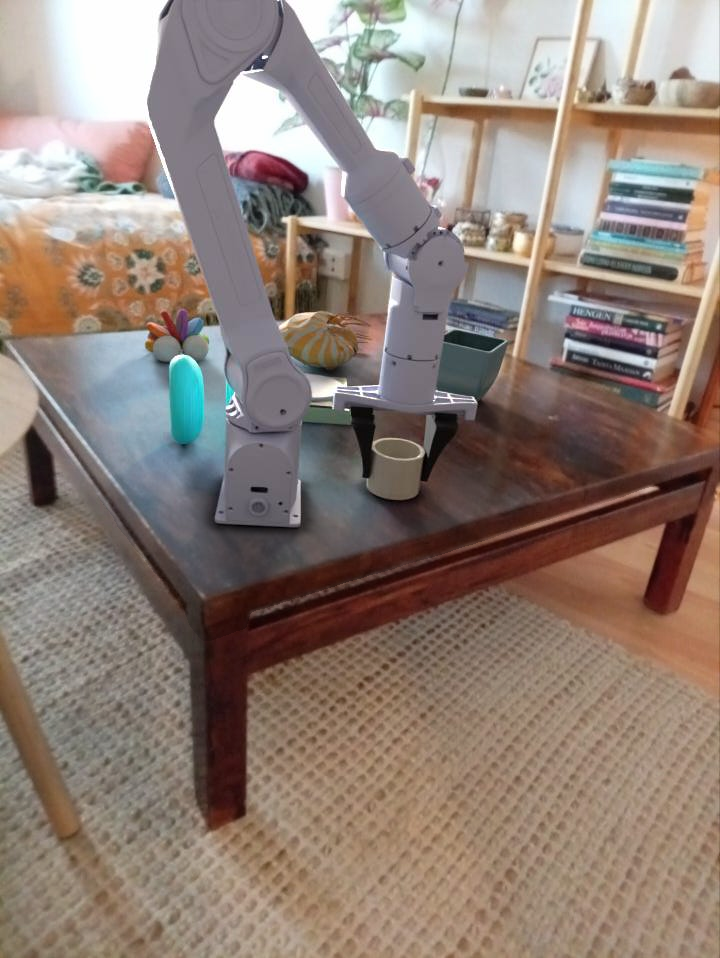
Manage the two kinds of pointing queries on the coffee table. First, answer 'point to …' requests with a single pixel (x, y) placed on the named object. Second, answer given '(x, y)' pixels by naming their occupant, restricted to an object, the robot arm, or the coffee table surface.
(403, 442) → the white cup
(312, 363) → the nautilus
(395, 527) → the coffee table surface
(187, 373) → the teal upright capsule
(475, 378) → the flower pot
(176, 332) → the rainbow peacock toy
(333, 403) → the robot arm
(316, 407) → the scale
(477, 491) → the coffee table surface
